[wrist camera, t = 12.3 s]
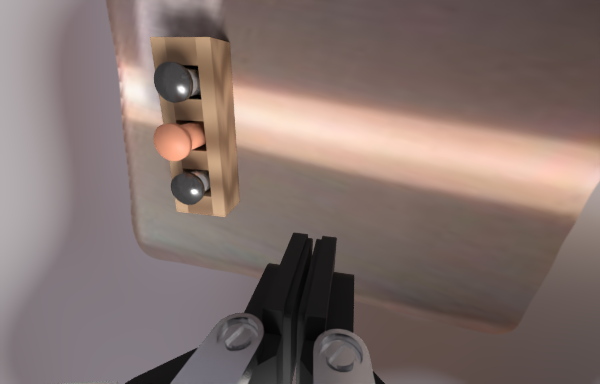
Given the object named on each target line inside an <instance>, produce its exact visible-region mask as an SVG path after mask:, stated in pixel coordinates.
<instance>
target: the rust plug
mask: <svg viewBox="0 0 600 384" xmlns="http://www.w3.org/2000/svg"><path fill="white" fill-rule="evenodd" d="M154 144H155V147H156V149H157V151H158V152H159V153H160V154H161V155H162V156H163V157H164V158H166V159H168V160H170V161H179V160H181V159H183V158H186V157H187V156H188V155H189V154H190V152H191V150H193V149H195V148H197V147H200V146H202V145H204V144H206V138H205V129H204V121H194V122H191V123H187V124H183V125H179V124H176V123H167V124H163V125H161V126H159V127H158V128H157V129H156V131H155V133H154Z"/></svg>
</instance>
